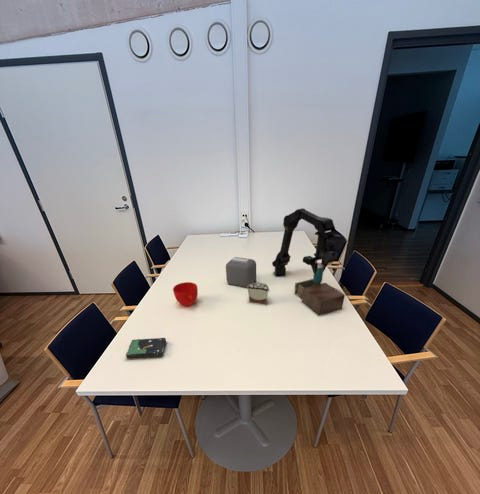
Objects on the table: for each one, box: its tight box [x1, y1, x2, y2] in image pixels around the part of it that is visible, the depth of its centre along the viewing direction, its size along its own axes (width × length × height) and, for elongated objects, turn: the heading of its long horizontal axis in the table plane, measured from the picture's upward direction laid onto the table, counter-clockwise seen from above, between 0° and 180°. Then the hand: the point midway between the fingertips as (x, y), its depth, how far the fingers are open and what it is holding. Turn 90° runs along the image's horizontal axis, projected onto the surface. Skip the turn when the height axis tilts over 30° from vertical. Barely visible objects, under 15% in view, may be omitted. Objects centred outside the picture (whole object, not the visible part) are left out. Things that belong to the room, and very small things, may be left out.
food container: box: [246, 282, 270, 306], centre depth 145 cm, size 12×6×10 cm, turn 71°
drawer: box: [293, 278, 322, 299], centre depth 147 cm, size 18×13×7 cm
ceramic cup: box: [172, 281, 199, 307], centre depth 143 cm, size 13×17×10 cm
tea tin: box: [312, 262, 325, 284], centre depth 144 cm, size 5×5×10 cm
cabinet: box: [301, 282, 346, 317], centre depth 139 cm, size 15×14×8 cm
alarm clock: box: [225, 256, 257, 288], centre depth 162 cm, size 16×11×16 cm
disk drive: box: [125, 337, 167, 360], centre depth 114 cm, size 10×3×15 cm
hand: (318, 273), depth 145 cm, fingers closed on tea tin, 5 cm apart
